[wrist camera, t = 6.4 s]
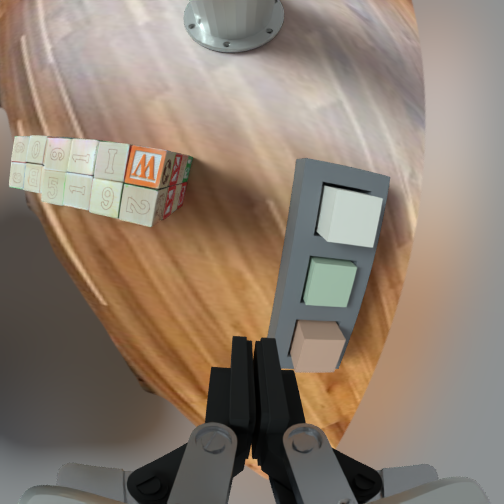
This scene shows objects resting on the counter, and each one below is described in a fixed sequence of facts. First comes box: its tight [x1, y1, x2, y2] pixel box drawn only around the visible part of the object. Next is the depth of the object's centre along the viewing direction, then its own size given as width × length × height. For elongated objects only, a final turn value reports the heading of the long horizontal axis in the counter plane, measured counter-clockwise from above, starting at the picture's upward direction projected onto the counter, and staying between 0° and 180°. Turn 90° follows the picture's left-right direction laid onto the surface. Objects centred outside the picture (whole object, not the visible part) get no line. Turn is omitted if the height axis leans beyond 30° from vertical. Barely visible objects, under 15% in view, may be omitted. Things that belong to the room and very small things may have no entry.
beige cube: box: [289, 319, 346, 372], centre depth 32 cm, size 5×5×5 cm
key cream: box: [315, 185, 383, 248], centre depth 27 cm, size 5×5×5 cm
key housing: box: [267, 158, 390, 369], centre depth 32 cm, size 26×10×6 cm, turn 173°
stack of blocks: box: [9, 135, 193, 227], centre depth 24 cm, size 21×6×12 cm, turn 75°
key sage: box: [302, 256, 357, 307], centre depth 31 cm, size 5×5×5 cm
